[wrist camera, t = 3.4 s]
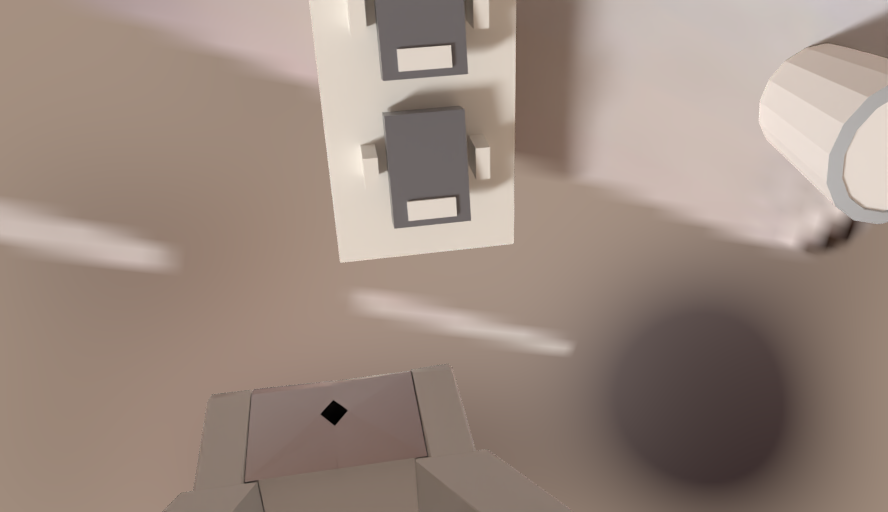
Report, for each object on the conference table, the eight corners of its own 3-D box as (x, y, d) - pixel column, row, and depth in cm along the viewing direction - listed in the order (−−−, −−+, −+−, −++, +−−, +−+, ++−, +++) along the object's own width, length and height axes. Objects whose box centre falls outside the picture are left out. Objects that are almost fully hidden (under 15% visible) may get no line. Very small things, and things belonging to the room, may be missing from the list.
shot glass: (720, 102, 38) (799, 156, 32) (839, -1, 36) (944, 36, 30) (788, 189, 41) (871, 253, 35) (900, 97, 40) (1007, 148, 34)
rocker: (459, 105, 32) (465, 109, 31) (466, 213, 34) (471, 221, 32) (381, 112, 32) (384, 116, 30) (391, 221, 33) (394, 229, 32)
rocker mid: (455, -55, 29) (461, -58, 28) (462, 71, 30) (468, 74, 29) (369, -50, 29) (371, -52, 27) (381, 78, 30) (383, 81, 29)
